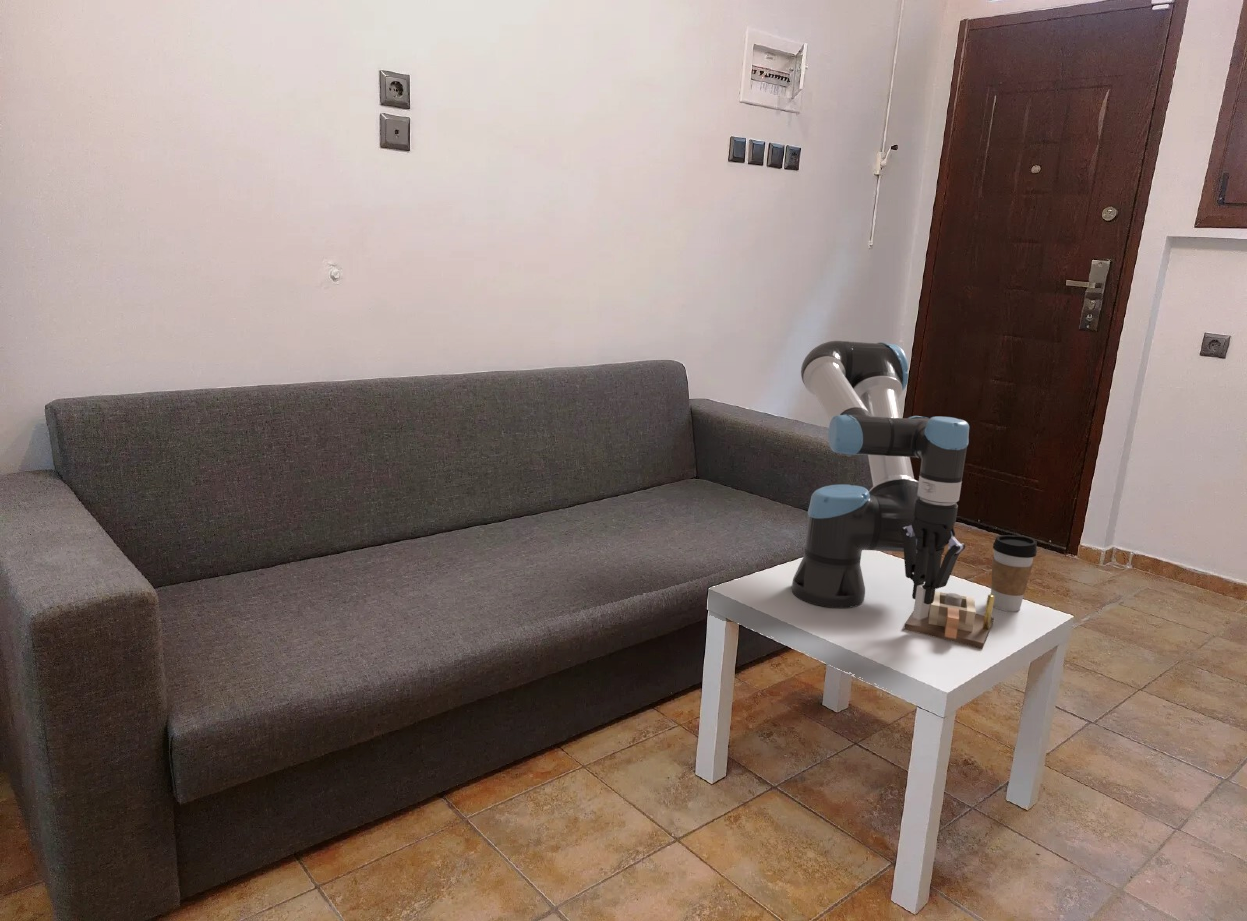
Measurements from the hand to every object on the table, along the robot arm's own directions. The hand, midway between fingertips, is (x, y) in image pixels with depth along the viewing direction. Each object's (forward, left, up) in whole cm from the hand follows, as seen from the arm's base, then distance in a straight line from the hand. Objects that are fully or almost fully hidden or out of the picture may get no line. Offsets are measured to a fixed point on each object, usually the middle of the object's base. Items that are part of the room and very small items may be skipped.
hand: (920, 617), depth 167 cm
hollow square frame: (+5, +4, -2) cm, 7 cm away
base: (+5, +6, -3) cm, 8 cm away
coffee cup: (+13, +25, -3) cm, 28 cm away
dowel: (+11, +7, -2) cm, 13 cm away
